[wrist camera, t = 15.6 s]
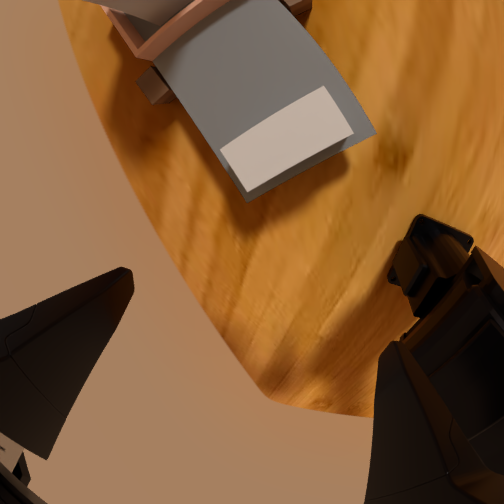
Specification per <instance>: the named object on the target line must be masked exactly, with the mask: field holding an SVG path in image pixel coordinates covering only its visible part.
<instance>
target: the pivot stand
mask: <svg viewBox="0 0 504 504" xmlns="http://www.w3.org/2000/svg"><path fill="white" fill-rule="evenodd" d="M278 1H279V2H280V3H281V4H282V5H283V6H284V7H285V8H286V9H287V10H288V11H289V12H290V13H291V14H292V15H293V16H294V17H295V16H297V15H299V14H301V13H303V12H305V11H307V10H309V9H311V8H312V0H278ZM136 83H137V85H138V86H139V87H140V89H141V90H142V92H143V93H144V94H145V96H146V97H147V98H148V100H149V101H150V102H151V104H152V105H156V104H166V103H170V102H171V101H172V100H173V99H174V98H175V97H177V96H176V95H175V93H174V92H173V90H172V89H171V87H170V86H169V84H168V83H167V82H166V80H165V79H164V77H163V76H162V74H161V73H160V71H159V70H158V69H157V67H152V66H150V67H149V68H148V69H147V70H146V71H145V72H144V73H143V74H142V75H141V76H140V77H139V78H138V79H137V80H136Z"/></svg>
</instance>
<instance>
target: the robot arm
mask: <svg viewBox="0 0 504 504" xmlns="http://www.w3.org/2000/svg"><path fill="white" fill-rule="evenodd" d="M421 219H423V221H422V223H419V221H420V220H421ZM468 240H469V242H467V241H468ZM473 242H474V240H473V238H472V236H471V235H469V234H467V233H465V232H462V231H460V230H458V229H456V228H454V227H451V226H449V225H447V224H444V223H442V222H440V221H437V220H435V219H433V218H430V217H428V216H425V215H423V214H419V215H417V216H416V218H415V220H414V222H413V224H412V226H411V229H410V231H409V233H408V235H407V236H406V237H405V238H404V240H403V242H402V244H401V246H400V248H399V250H398V252H397V254H396V256H395V258H394V260H393V266H392V268H391V270H390V271H389V273H388V276H387V279H388V282H389V283H391V284H394V285H398V286H401V288H402V290H403V293H404V295H405V296H407V297H408V300H409V303H410V306H411V309H412V312H413V315H414V316H415V317H419V318H420V319H419V320H418V321H417V322H416V323H415V324H414V325H413V326H412V328H411V329H410V330H409V331H408V332H407V333H404V334H403V335H402V336H401V337H400V340H399V341H392V342H390V343H389V345H388V346H387V347H386V348H385V350H384V351H383V352H382V353H381V355H380V357H379V361H378V371H377V381H376V389H375V399H374V421H373V437H372V449H371V459H370V468H369V476H368V483H367V489H366V495H365V502H364V504H504V268H503V267H502V266H501V265H499V264H498V263H497V262H496V261H495V260H493V259H492V258H491V257H490V256H488V255H487V254H486V253H485V252H483V251H482V250H481V249H480V248H478V247H477V246H475V247H474V248H473V250H472V251H471V253H472V254H471V255H469V254H468V252H469V250H470V248H471V247H472V245H473ZM392 277H394V278H393V279H391V278H392ZM133 293H134V281H133V273H132V271H131V270H130V269H127V268H124V267H119V268H116V269H114V270H112V271H109V272H107V273H105V274H102V275H100V276H98V277H95V278H93V279H91V280H89V281H86V282H84V283H81V284H79V285H77V286H75V287H72V288H70V289H68V290H66V291H63V292H61V293H59V294H57V295H55V296H52V297H50V298H48V299H46V300H44V301H42V302H39V303H37V305H36V304H35V305H33V306H31V307H29V308H26V309H24V310H22V311H20V312H18V313H15V314H13V315H10V316H8V317H5V318H2V319H0V504H47V503H46V502H45V501H43V500H42V499H41V498H40V497H38V496H37V495H36V494H35V493H33V492H32V491H31V490H30V489H28V488H27V486H28V484H29V482H30V480H31V478H30V474H29V471H28V468H27V464H26V461H25V457H24V453H23V450H24V448H25V449H27V450H29V451H31V452H32V453H34V454H36V455H38V456H39V457H41V458H43V459H45V460H47V459H48V457H49V455H50V453H51V451H52V448H53V446H54V444H55V442H56V439H57V437H58V435H59V433H60V431H61V429H62V427H63V425H64V423H65V421H66V418H67V416H68V414H69V412H70V410H71V408H72V406H73V404H74V402H75V400H76V398H77V396H78V395H79V393H80V391H81V389H82V387H83V385H84V383H85V382H86V380H87V378H88V376H89V374H90V373H91V371H92V369H93V367H94V366H95V364H96V362H97V360H98V358H99V357H100V355H101V353H102V352H103V350H104V348H105V347H106V345H107V343H108V342H109V340H110V338H111V337H112V335H113V333H114V332H115V330H116V328H117V326H118V324H119V322H120V320H121V318H122V316H123V314H124V312H125V310H126V308H127V306H128V304H129V302H130V300H131V297H132V295H133Z"/></svg>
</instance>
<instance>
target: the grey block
mask: <svg viewBox="0 0 504 504" xmlns="http://www.w3.org/2000/svg"><path fill="white" fill-rule="evenodd" d="M83 1H87V2H91V3H95V4H99V5H102V6H106V7H109V8H112V9H115V10H119V11H122V12H125V13H127V14H130V15H133V16H136V17H139V18H141V19H144V20H146V21H149V22H151V23H154V24H156V25H159V26H161V25H162V24H163V23H165V22H166V21H167V20H168V19H169V18H170V17H172V16H173V15H174V14H175V13H177V12H178V11H179V10H180V9H182V8H183V7H184V6H185V5H187V4H188V3H189V2H191V1H192V0H83Z"/></svg>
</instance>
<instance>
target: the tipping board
mask: <svg viewBox="0 0 504 504" xmlns="http://www.w3.org/2000/svg"><path fill="white" fill-rule="evenodd" d="M100 6H101V7H102V8H103V10H104V11H105V13H106V14H107V16H108V17H109V19H110V20H111V22H112V23H113V24H114V26H115V27H116V29H117V30H118V32H119V33H120V35H121V36H122V38H123V39H124V41H125V42H126V43H127V45H128V46H129V48H130V49H131V51H132V52H133V54H134V55H135V57H136V58H141V59H145V60H149V61H153V63H154V64H155V66H156V67H157V69H158V70H159V71H160V73H161V74H162V76H163V77H164V79H165V80H166V82H167V83H168V84H169V86H170V87H171V89H172V90H173V92H174V93H175V95H176V96H177V98H178V99H179V100H180V102H181V103H182V105H183V106H184V108H185V109H186V111H187V112H188V114H189V115H190V117H191V118H192V120H193V121H194V123H195V124H196V126H197V127H198V129H199V130H200V132H201V133H202V135H203V136H204V138H205V139H206V141H207V142H208V144H209V145H210V147H211V148H212V150H213V151H214V153H215V154H216V156H217V157H218V159H219V160H220V162H221V163H222V165H223V167H224V168H225V170H226V171H227V173H228V174H229V176H230V177H231V179H232V180H233V182H234V184H235V185H236V187H237V188H238V190H239V191H240V193H241V194H242V196H243V198H244V199H245V201H246V202H247V203H248V202H250V201H252V200H254V199H255V198H257V197H259V196H261V195H262V194H264V193H266V192H268V191H269V190H271V189H273V188H275V187H276V186H278V185H280V184H282V183H283V182H285V181H287V180H289V179H291V178H292V177H294V176H296V175H298V174H300V173H302V172H303V171H305V170H307V169H309V168H311V167H313V166H315V165H316V164H318V163H320V162H322V161H324V160H326V159H328V158H330V157H332V156H333V155H335V154H337V153H339V152H341V151H343V150H345V149H347V148H349V147H351V146H353V145H355V144H357V143H359V142H361V141H363V140H365V139H367V138H369V137H371V136H373V135H375V134H377V133H376V131H375V129H374V128H373V126H372V124H371V122H370V120H369V119H368V117H367V115H366V114H365V112H364V110H363V109H362V107H361V105H360V104H359V102H358V100H357V99H356V97H355V96H354V94H353V93H352V91H351V90H350V88H349V86H348V85H347V84H346V82H345V81H344V79H343V78H342V76H341V75H340V73H339V72H338V71H337V69H336V68H335V66H334V65H333V64H332V62H331V61H330V60H329V58H328V57H327V56H326V54H325V53H324V52H323V50H322V49H321V48H320V47H319V45H318V44H317V43H316V42H315V40H314V39H313V38H312V37H311V36H310V34H309V33H308V32H307V31H306V30H305V28H304V27H303V26H302V25H301V24H300V23H299V22H298V21H297V19H296V18H295V17H294V16H293V15H292V14H291V13H290V12H289V11H288V10H287V9H286V8H285V7H284V6H283V5H282V4H281V3H280V2H279V1H278V0H192V1H191V2H189V3H188V4H187V5H185V6H184V7H183V8H182V9H180V10H179V11H178V12H177V13H175V14H174V15H173V16H172V17H170V18H169V19H168V20H167V21H166V22H165V23H163V24H162V25H161V26H159V25H156V24H154V23H151V22H149V21H146V20H144V19H141V18H139V17H136V16H133V15H130V14H127V13H125V12H122V11H119V10H115V9H112V8H109V7H106V6H102V5H100Z"/></svg>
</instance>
